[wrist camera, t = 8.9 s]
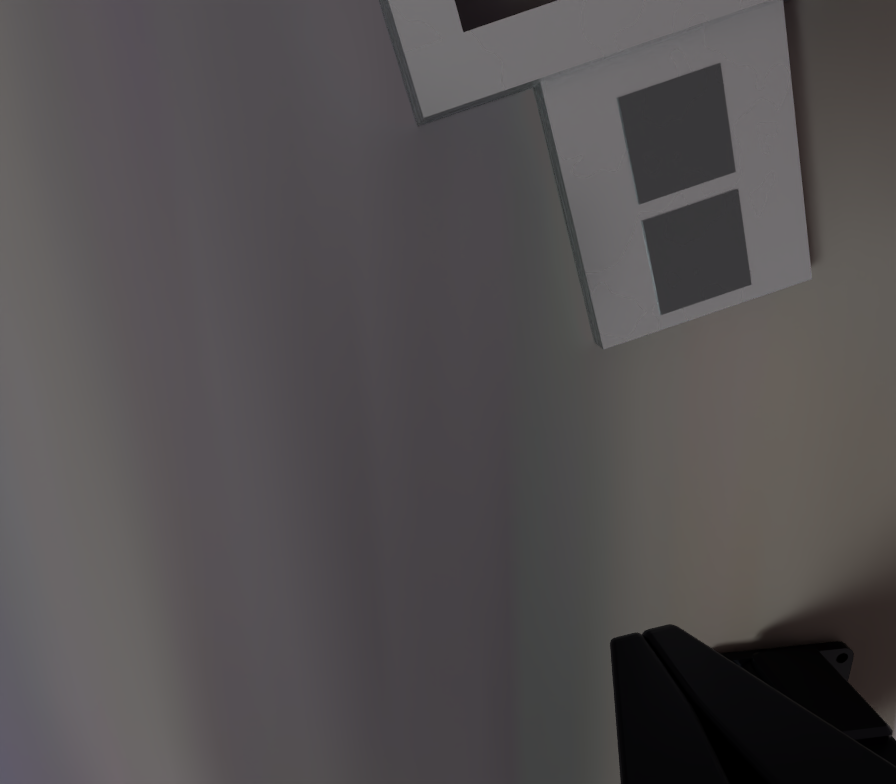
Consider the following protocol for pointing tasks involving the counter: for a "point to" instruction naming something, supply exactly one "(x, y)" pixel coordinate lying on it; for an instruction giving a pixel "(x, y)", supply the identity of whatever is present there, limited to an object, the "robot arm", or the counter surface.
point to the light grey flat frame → (641, 141)
